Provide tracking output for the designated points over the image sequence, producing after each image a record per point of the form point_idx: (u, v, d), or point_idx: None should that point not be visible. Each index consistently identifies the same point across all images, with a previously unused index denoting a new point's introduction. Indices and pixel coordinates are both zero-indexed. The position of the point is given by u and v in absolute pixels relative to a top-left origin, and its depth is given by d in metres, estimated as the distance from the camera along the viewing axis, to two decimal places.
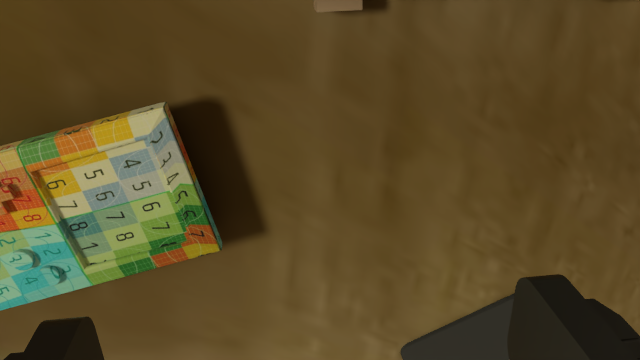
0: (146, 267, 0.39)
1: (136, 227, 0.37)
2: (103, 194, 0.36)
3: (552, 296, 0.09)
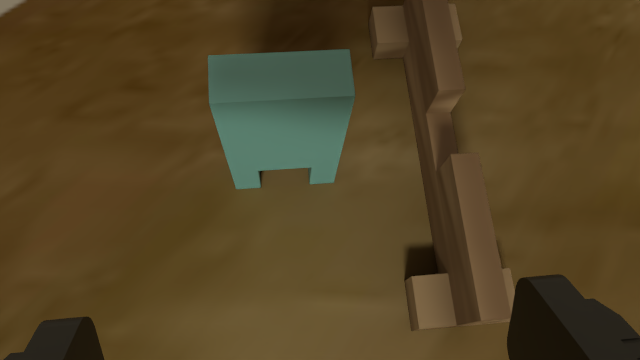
0: None
1: None
2: None
3: (552, 296, 0.09)
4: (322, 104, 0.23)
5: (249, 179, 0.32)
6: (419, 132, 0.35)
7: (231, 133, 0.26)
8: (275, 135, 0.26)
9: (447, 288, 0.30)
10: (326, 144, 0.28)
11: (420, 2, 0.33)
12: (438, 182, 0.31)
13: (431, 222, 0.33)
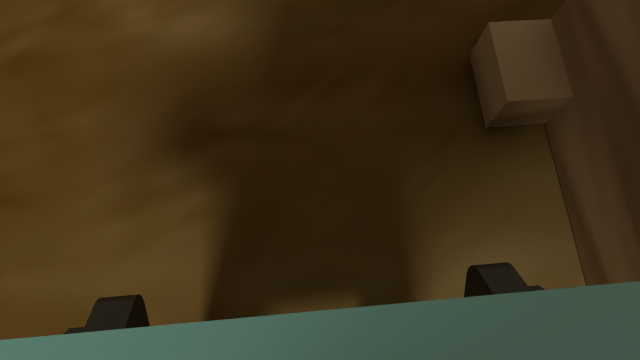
0: None
1: None
2: None
3: (496, 282, 0.09)
4: None
5: None
6: None
7: None
8: None
9: None
10: None
11: (637, 14, 0.14)
12: None
13: None
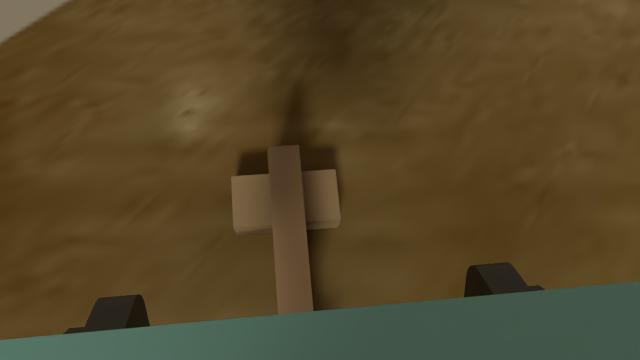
0: None
1: None
2: None
3: (496, 282, 0.09)
4: None
5: None
6: None
7: None
8: None
9: None
10: None
11: None
12: None
13: None
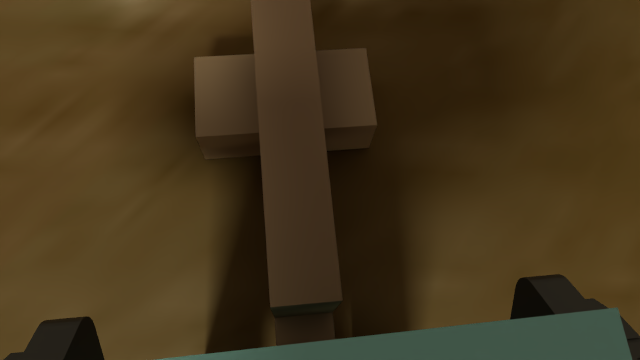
0: None
1: None
2: None
3: (552, 296, 0.09)
4: None
5: None
6: None
7: None
8: None
9: None
10: None
11: None
12: None
13: None
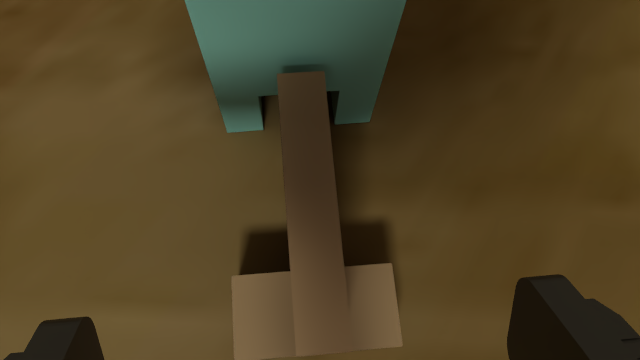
0: None
1: None
2: None
3: (552, 296, 0.09)
4: None
5: (245, 114, 0.21)
6: None
7: (209, 7, 0.15)
8: (283, 15, 0.15)
9: (287, 295, 0.19)
10: (367, 38, 0.17)
11: None
12: None
13: None
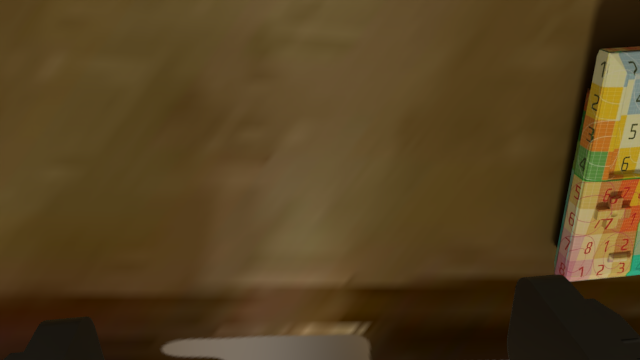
0: None
1: None
2: None
3: (552, 296, 0.09)
4: None
5: None
6: None
7: None
8: None
9: None
10: None
11: None
12: None
13: None
